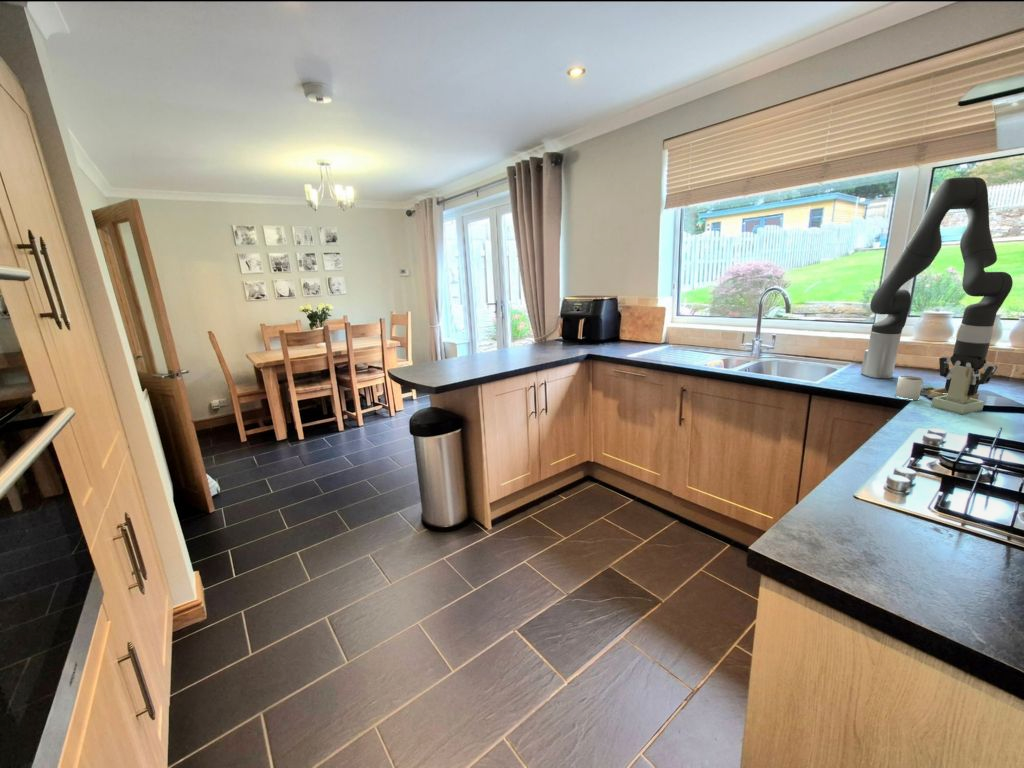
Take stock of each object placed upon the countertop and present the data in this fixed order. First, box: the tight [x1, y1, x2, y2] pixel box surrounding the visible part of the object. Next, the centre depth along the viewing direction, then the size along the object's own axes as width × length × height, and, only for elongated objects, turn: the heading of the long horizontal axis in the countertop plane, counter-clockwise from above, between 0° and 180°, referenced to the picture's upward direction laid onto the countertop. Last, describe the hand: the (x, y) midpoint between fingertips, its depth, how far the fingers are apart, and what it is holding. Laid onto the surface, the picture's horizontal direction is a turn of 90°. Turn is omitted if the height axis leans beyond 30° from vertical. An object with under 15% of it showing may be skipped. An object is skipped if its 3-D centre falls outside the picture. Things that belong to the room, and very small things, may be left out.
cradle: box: [921, 386, 980, 400], centre depth 162 cm, size 14×11×2 cm
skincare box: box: [946, 366, 975, 405], centre depth 149 cm, size 6×4×12 cm
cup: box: [894, 374, 924, 401], centre depth 161 cm, size 6×6×7 cm
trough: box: [930, 395, 985, 416], centre depth 151 cm, size 8×10×3 cm
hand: (959, 393), depth 150 cm, fingers closed on skincare box, 5 cm apart
